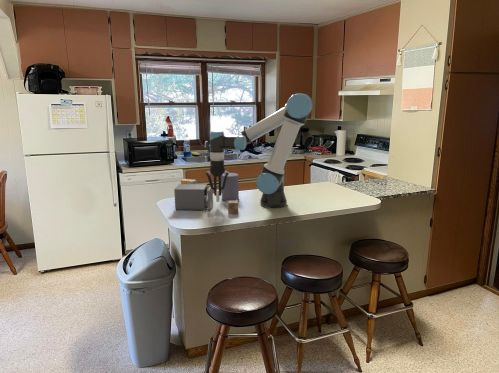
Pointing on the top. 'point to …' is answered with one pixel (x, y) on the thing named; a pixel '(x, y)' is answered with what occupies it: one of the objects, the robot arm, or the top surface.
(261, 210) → the top surface
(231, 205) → the walnut block
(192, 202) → the grey box
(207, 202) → the tray
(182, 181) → the supplement box
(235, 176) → the container
